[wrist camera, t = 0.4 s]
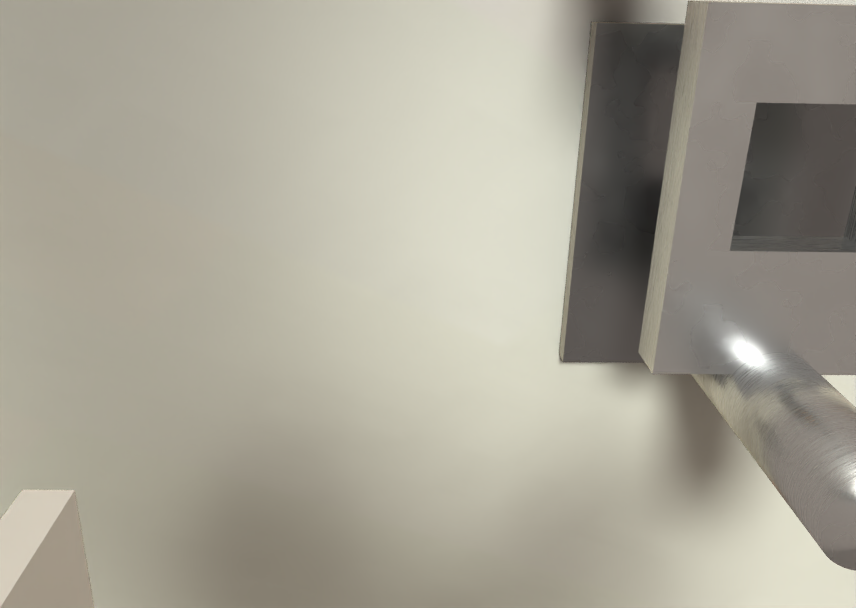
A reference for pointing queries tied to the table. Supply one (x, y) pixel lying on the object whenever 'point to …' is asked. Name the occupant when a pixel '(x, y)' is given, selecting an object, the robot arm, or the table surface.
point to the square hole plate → (729, 231)
